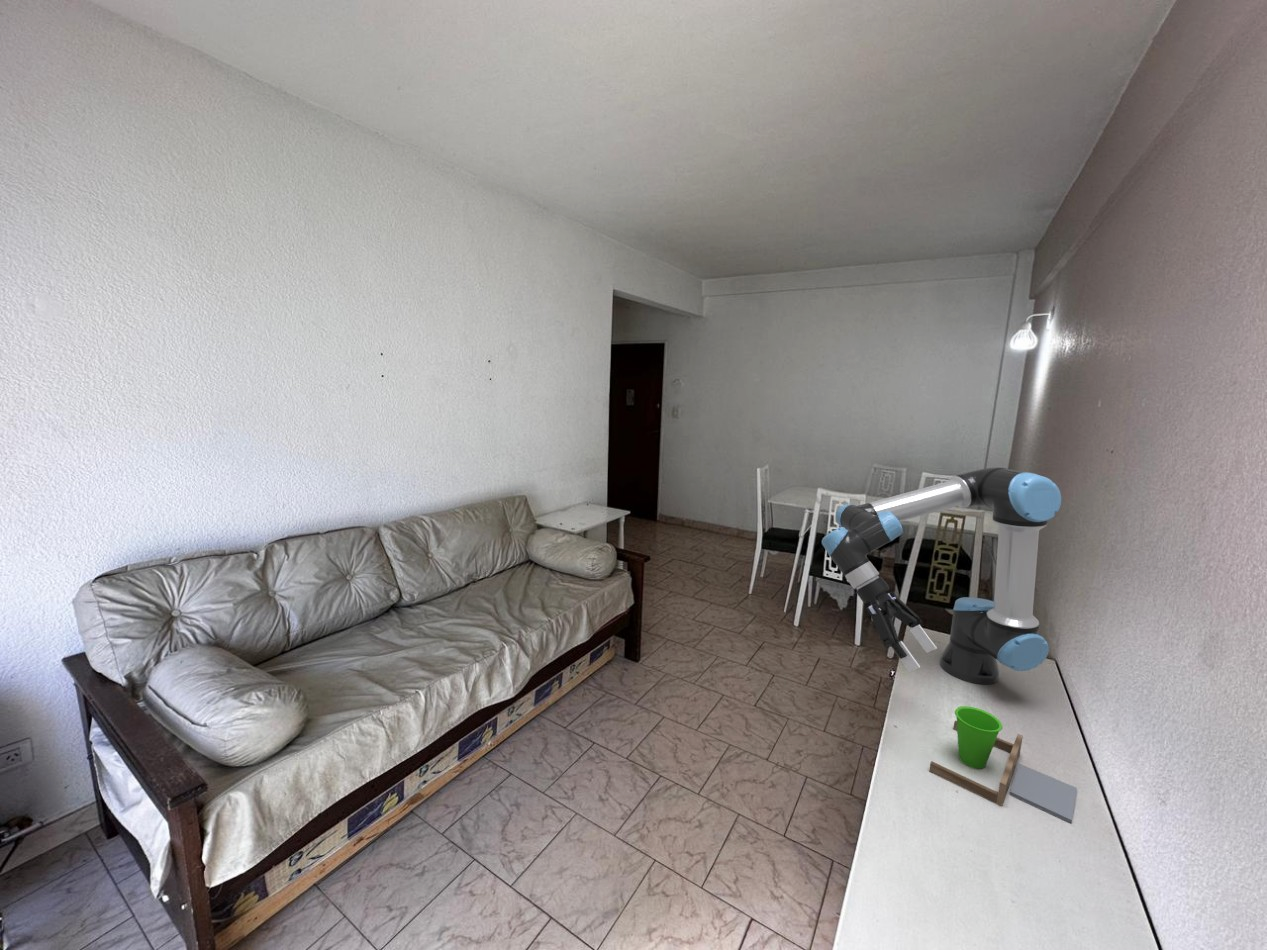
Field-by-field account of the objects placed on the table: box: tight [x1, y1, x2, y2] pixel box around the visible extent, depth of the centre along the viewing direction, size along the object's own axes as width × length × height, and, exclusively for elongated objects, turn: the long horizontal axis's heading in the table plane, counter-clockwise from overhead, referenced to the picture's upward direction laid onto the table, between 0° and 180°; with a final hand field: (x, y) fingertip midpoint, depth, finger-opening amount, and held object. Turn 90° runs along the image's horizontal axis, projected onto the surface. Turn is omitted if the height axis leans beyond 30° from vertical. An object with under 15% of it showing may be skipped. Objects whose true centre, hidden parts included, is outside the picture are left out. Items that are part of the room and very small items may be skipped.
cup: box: [954, 705, 1003, 770], centre depth 115 cm, size 9×9×11 cm
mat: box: [1009, 763, 1078, 824], centre depth 107 cm, size 12×10×1 cm
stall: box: [929, 720, 1024, 807], centre depth 115 cm, size 22×14×5 cm, turn 135°
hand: (923, 659), depth 122 cm, fingers open, 13 cm apart
